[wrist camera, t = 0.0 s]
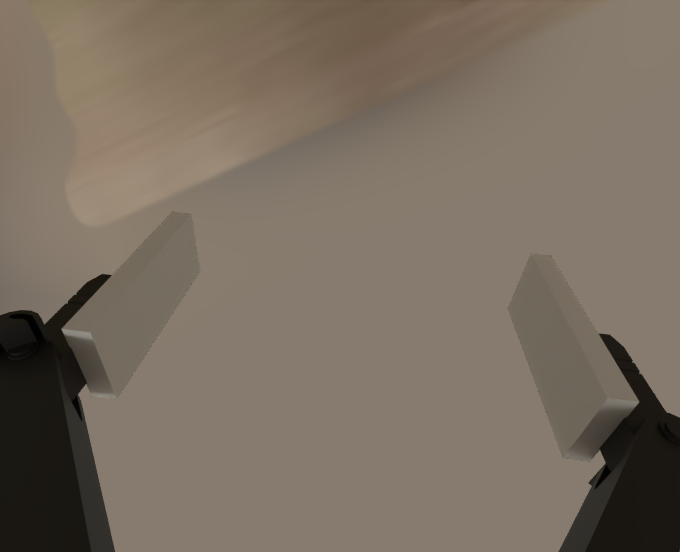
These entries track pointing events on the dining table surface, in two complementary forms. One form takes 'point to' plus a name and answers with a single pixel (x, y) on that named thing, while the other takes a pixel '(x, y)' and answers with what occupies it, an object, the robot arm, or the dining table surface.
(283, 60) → the dining table surface
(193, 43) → the dining table surface
